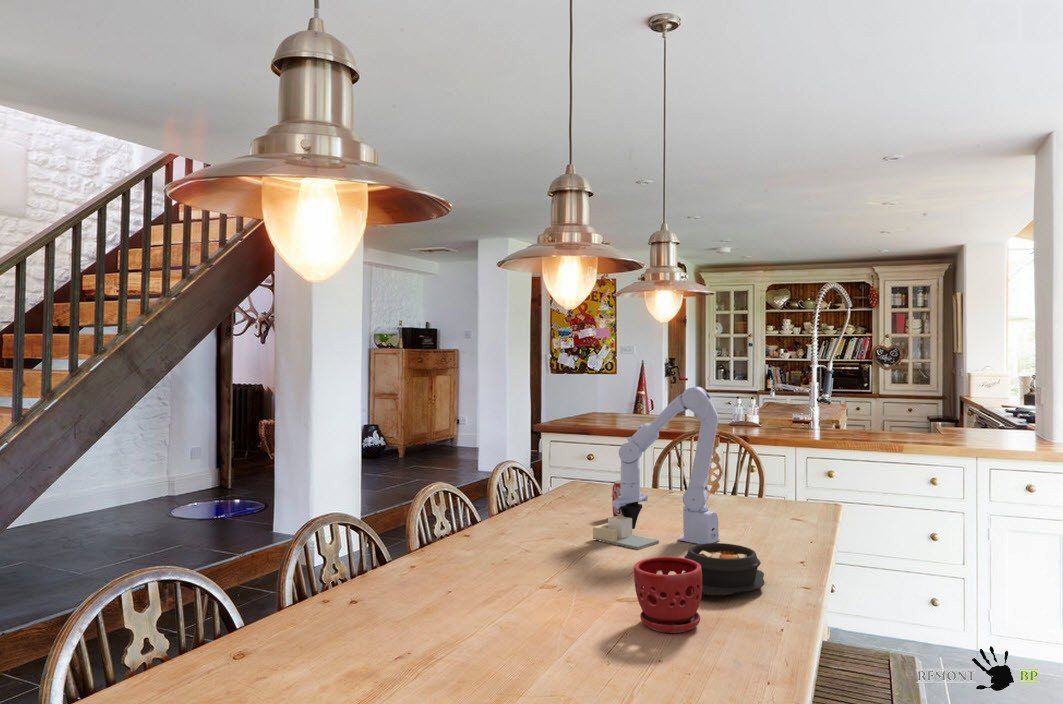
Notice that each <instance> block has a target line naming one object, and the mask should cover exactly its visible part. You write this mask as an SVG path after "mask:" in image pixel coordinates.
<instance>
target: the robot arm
mask: <svg viewBox="0 0 1063 704" xmlns="http://www.w3.org/2000/svg"><path fill="white" fill-rule="evenodd" d="M685 411H691V412H692V413H693V414H694V415H695V416H696V417H697V418H698V420H699V421H700V426H699V430H698V431H699V432H698V436H697V443H696V449H695V452H694V453H695V454H694V457H693V458H694V459H693V464H692V470H691V475H690V477H689V482H688V485H687V488H686V490H685V492H684V493H683V496H682V502H683V505H684V506H683V511H682V512H683V517H682V519H683V536H680V537H677V541H682V542H687V543H691V544H695V545H699V544H706V543H718V542H719V541H721V540H720V537H719V516H718V515H717V513H716V512H713V511H711V510H710V506H708V504H707V501H708V500H709V497H710V495H709V494H710V492H709V489H708V483H709V472H710V468H711V463H712V456H713V451H714V448H715V447H714V446H715V441H716V434H717V429H718V425H719V418H720V417H719V413H718V412H717V409H716V406H715V405H714V402H713V399H712V396H711V395H710V394H709V393H708V392H707V390H705V389H704V388H703V387H701V386H693V387H688V388H687V389H685V390H684V391H683V393H680V394H679V395H677V396H676V398H674V399H673V400H672V401H671V402H670V403H668V405H667V406H666V407H665V408H663V410H662V411H661V412H660V413H659V414H658V415H657V417H655V419H654V420H653V421H652V422H651V423H648V422H647V423H643V424H640V425H638V426H637V429H638V430H637V431H636V432H635V433H634V434H633V435H632V436H628V438H627V442H625V443H622V444H621V446H620V447H619V449H618V457H619V458H620V480H621V496H618V499H616V500H613V503H612V508H613V507H616V508H620V510H621V512H622V514H623V516H624V517H628V518H632V530H635V529H636V525H637V522H638V517H639V515H640V512H641V511H642V509H643V504H642V502H648V501H649V500H648V497H649V496H648V494H646V493H641V467H640V458H641V457H642V454H643V453H644V452H646V450H647V449H649V447H651V446H652V445H653V444H654V443H655V442H657V440H658V439H659V437H660V431H661V430H662V428H663V427H665V425H666V424H668V423H669V422H670V421H671V420H672V419H673V418H674V417H675V416H676V415H677V414H678V413H681V412H685Z"/></svg>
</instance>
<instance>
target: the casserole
mask: <svg viewBox="0 0 1063 704" xmlns="http://www.w3.org/2000/svg"><path fill="white" fill-rule="evenodd" d="M683 558H686V559H690V560H693V561H696V562H697V563H699V564H700V565H701V569H702V594H701V595H705V596H706V595H707V596H716V597H717V596H718V597H722V596H724V597H725V596H728V595H737V594H742V593H746V592H751V591H755V590H757V589H760V588H762V587H763V586H764V585H765V580H764V577H765V573H764V571H762V570H760V569H758V568H759V566H760V565H761V560H760V559H759V558H758V556H757V553H756V551H755V550H753V549H752V548H749V547H747V546H743V545H739V544H738V545H737V544H732V543H721V542H720V543H719V542H714V543H706V544H695V545H692V546H690V547H689V548H688V550H687V553H686V554H685V555H684V557H683ZM684 573H686V572H685V571H683V572H682V574H684Z"/></svg>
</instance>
